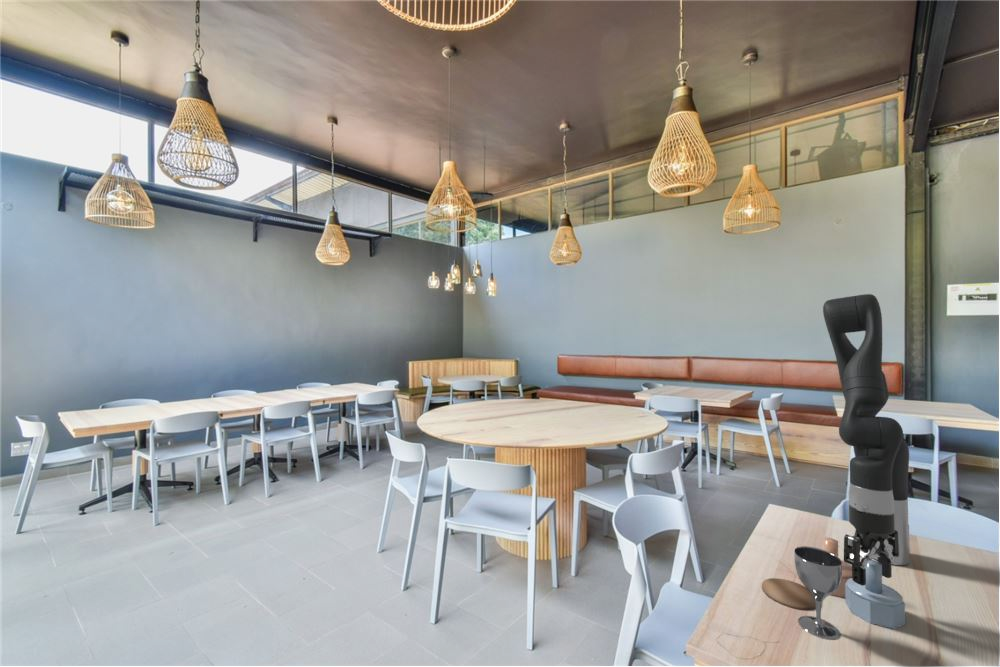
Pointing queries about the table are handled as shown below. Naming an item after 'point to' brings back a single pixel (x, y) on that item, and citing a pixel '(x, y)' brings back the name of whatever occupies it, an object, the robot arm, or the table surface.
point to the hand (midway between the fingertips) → (872, 579)
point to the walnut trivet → (788, 593)
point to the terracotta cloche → (832, 547)
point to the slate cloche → (875, 599)
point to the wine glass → (818, 586)
